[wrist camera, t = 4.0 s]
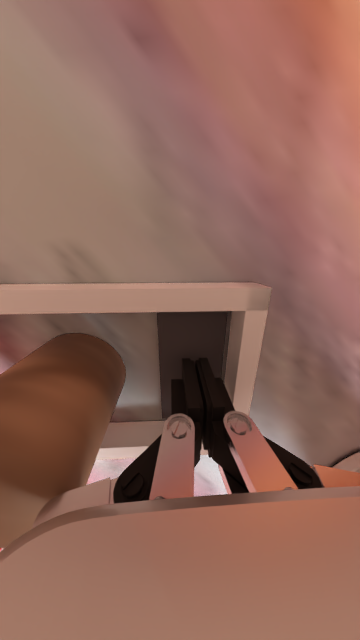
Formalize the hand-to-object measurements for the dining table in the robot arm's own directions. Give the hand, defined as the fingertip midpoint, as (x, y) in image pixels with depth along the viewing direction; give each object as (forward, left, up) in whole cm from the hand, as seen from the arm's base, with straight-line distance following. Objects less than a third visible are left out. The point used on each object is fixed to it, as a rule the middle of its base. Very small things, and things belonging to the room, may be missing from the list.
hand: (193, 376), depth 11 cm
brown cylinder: (+8, 0, -1) cm, 8 cm away
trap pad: (0, 0, -1) cm, 1 cm away
